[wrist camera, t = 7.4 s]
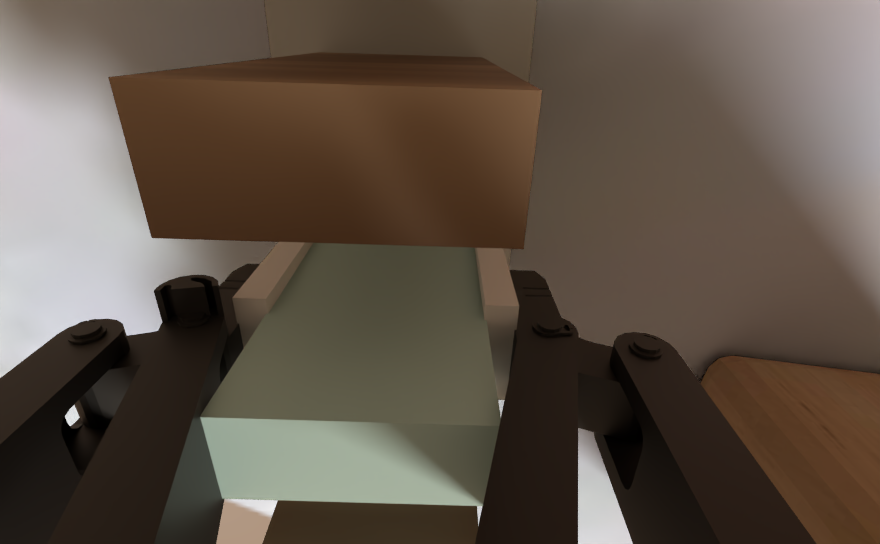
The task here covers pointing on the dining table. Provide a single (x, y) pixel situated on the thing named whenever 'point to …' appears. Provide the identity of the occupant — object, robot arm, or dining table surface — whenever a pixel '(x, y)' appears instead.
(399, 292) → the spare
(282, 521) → the domino
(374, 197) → the domino
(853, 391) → the block
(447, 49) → the runner
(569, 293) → the dining table surface
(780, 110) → the dining table surface
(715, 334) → the dining table surface
